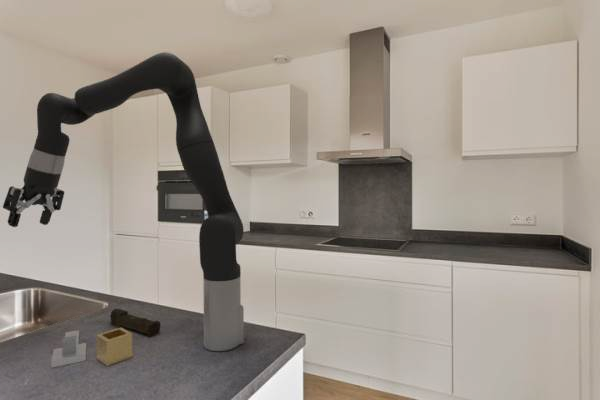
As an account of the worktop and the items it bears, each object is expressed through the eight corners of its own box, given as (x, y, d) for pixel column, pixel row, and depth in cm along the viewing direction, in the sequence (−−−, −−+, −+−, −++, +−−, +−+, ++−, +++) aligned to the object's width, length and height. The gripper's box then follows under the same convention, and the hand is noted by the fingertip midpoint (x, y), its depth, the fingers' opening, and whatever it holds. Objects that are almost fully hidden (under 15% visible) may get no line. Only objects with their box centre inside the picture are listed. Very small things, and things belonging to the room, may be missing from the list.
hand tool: (161, 333, 94) (161, 317, 94) (148, 339, 90) (148, 321, 90) (120, 320, 103) (120, 305, 103) (107, 324, 100) (107, 309, 100)
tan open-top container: (121, 349, 84) (121, 327, 84) (132, 356, 80) (132, 333, 80) (96, 358, 80) (96, 334, 79) (107, 366, 76) (106, 341, 76)
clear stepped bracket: (86, 333, 93) (86, 316, 93) (85, 360, 79) (85, 340, 78) (58, 338, 90) (57, 321, 90) (51, 367, 75) (50, 347, 75)
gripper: (30, 170, 84) (12, 232, 85) (78, 174, 98) (62, 227, 99) (6, 161, 85) (-11, 221, 87) (57, 166, 99) (42, 218, 100)
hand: (28, 224), depth 93 cm, fingers open, 8 cm apart
